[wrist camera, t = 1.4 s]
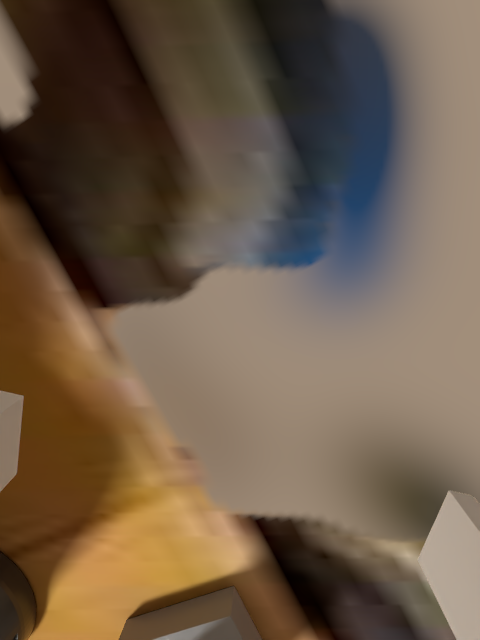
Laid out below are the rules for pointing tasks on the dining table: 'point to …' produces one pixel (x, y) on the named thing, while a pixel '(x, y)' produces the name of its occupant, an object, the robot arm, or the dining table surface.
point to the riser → (196, 620)
